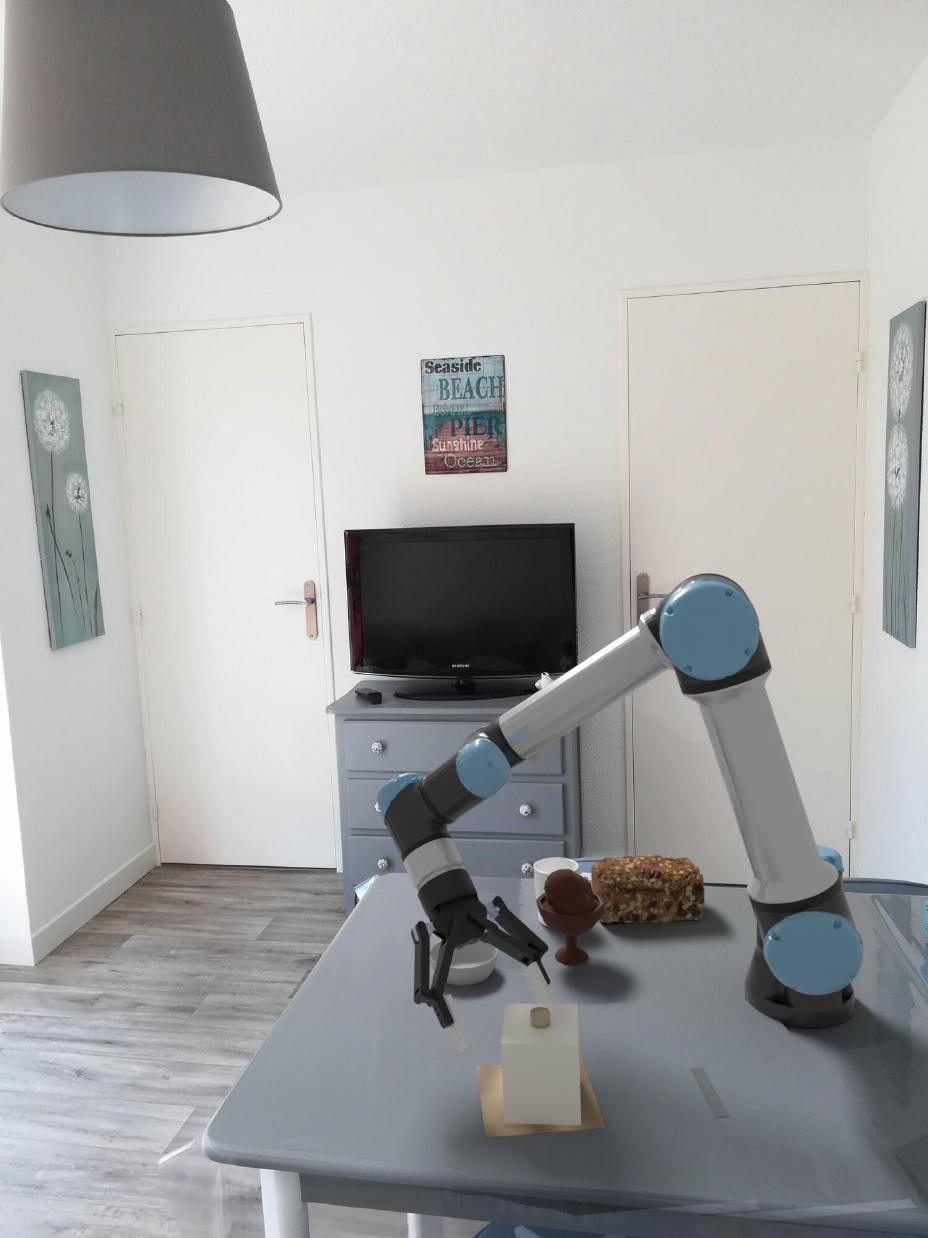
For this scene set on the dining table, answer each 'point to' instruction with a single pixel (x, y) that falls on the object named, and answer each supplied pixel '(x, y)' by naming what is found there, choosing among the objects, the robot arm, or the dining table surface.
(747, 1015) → the dining table surface
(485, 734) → the robot arm
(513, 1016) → the knobbed white box
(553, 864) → the white cup
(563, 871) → the ice cream bowl
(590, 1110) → the board
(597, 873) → the bread
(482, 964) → the saucepan
